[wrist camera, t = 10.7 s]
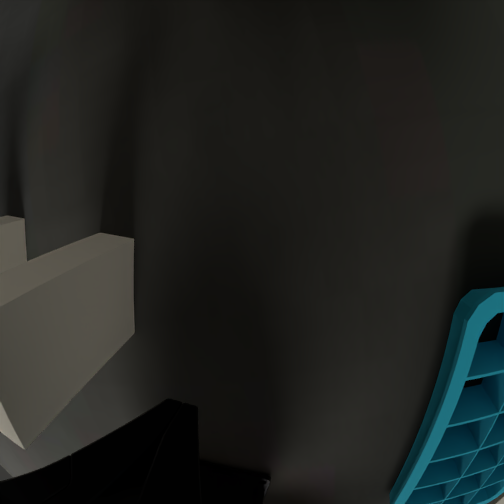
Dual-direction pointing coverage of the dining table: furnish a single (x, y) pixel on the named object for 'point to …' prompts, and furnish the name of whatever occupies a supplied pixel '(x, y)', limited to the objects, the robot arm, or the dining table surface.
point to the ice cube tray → (462, 416)
